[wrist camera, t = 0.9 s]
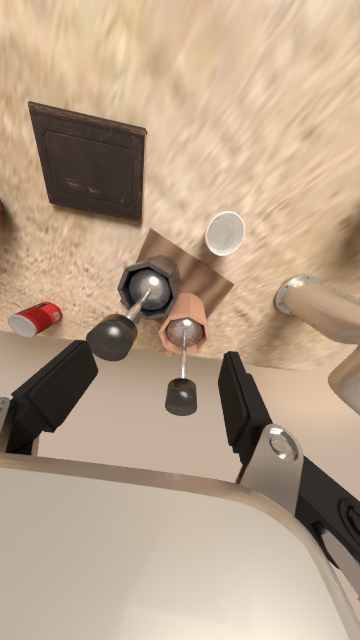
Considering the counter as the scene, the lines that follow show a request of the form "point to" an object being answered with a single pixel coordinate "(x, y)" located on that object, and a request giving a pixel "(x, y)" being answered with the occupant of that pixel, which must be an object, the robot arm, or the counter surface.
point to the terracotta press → (184, 308)
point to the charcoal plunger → (128, 316)
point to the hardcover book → (90, 161)
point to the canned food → (35, 319)
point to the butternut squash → (1, 212)
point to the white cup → (225, 233)
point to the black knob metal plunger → (183, 367)
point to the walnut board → (188, 272)
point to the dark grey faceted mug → (164, 268)
